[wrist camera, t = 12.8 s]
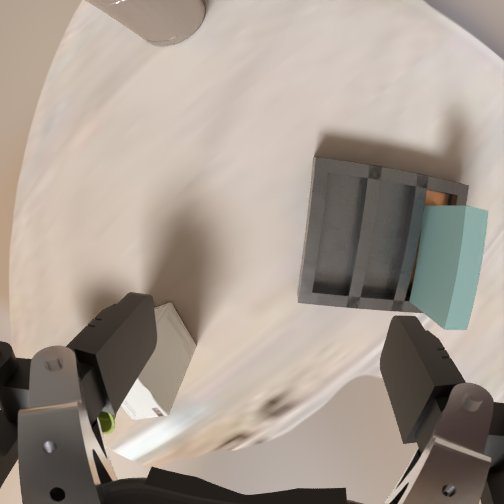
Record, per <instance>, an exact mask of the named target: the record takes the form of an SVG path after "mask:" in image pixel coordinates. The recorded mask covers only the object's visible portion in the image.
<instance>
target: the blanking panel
mask: <svg viewBox="0 0 504 504" xmlns="http://www.w3.org/2000/svg"><path fill="white" fill-rule="evenodd" d="M487 218H488V211H486V210H482V209H478V208H474V207H470V206H425V207H424V213H423V219H422V228H421V236H420V243H419V250H418V257H417V263H416V269H415V275H414V281H413V286H412V291H411V296H410V301H409V302H411V303H412V304H413V305H415V306H416V307H417V308H418V309H420V310H421V311H422V312H423V313H425V314H426V315H427V316H428V317H430V318H431V319H432V320H433V321H435V322H436V323H437V324H438V325H439V326H441V327H442V328H443V329H447V330H467V327H468V323H469V319H470V316H471V312H472V308H473V303H474V299H475V295H476V290H477V285H478V280H479V275H480V269H481V264H482V258H483V251H484V244H485V236H486V228H487Z"/></svg>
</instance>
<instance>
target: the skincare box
mask: <svg viewBox="0 0 504 504" xmlns="http://www.w3.org/2000/svg"><path fill="white" fill-rule="evenodd" d="M154 311H155V319H156V328H157V344H156V348H155V350H154V352H153V354H152V355H151V357H150V359H149V360H148V362H147V364H146V365H145V367H144V368H143V370H142V372H141V373H140V375H139V376H138V378H137V380H136V381H135V383H134V385H133V386H132V388H131V389H130V391H129V393H128V394H127V396H126V398H125V399H124V401H123V403H122V404H121V406H122V407H123V409H124V410H125V411H126V412H127V413H128V415H129V416H130V417H131V418H132V419H133V420H135V419H144V418H152V417H159V416H166V415H169V413H170V410H171V408H172V405H173V403H174V400H175V398H176V395H177V393H178V390H179V388H180V385H181V383H182V380H183V378H184V375H185V373H186V370H187V368H188V366H189V363H190V361H191V358H192V356H193V353H194V351H195V348H196V344H195V342H194V341H193V339H192V337H191V335H190V334H189V332H188V330H187V329H186V327H185V325H184V323H183V322H182V320H181V318H180V316H179V315H178V313H177V311H176V310H175V308H174V306H173V304H172V302H170V303H167V304H164V305H161V306H158V307H155V308H154Z"/></svg>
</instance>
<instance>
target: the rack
mask: <svg viewBox="0 0 504 504" xmlns="http://www.w3.org/2000/svg"><path fill="white" fill-rule="evenodd" d="M468 186H469V185H465V184H461V183H457V182H453V181H448V180H444V179H440V178H435V177H431V176H426V175H422V174H417V173H412V172H407V171H402V170H396V169H391V168H386V167H380V166H374V165H368V164H362V163H355V162H349V161H342V160H335V159H327V158H319V157H314V158H313V168H312V179H311V188H310V198H309V207H308V216H307V224H306V232H305V241H304V248H303V256H302V264H301V271H300V278H299V285H298V292H297V294H298V303H305V304H315V305H325V306H336V307H348V308H359V309H372V310H385V311H400V312H415V313H423V312H422V311H421V310H420V309H418V308H417V307H416V306H415V305H413V304H412V303H411V302H409V301H410V296H411V291H412V286H413V281H414V275H415V269H416V263H417V257H418V250H419V243H420V236H421V228H422V219H423V213H424V207H425V206H466V201H467V194H468Z"/></svg>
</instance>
